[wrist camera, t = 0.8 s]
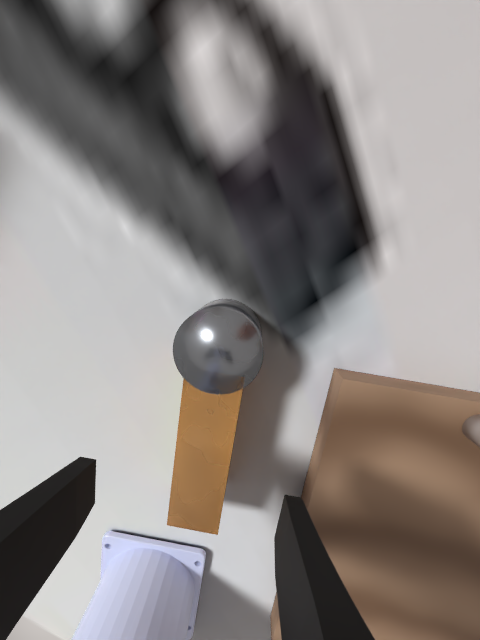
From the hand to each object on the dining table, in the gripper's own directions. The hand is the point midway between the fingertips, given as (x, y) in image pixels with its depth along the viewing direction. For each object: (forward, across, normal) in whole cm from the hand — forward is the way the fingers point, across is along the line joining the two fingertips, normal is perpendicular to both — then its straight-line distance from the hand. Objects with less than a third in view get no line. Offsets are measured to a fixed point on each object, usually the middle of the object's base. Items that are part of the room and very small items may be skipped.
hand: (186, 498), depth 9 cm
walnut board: (+7, -15, +8) cm, 18 cm away
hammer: (+7, 0, +1) cm, 7 cm away
